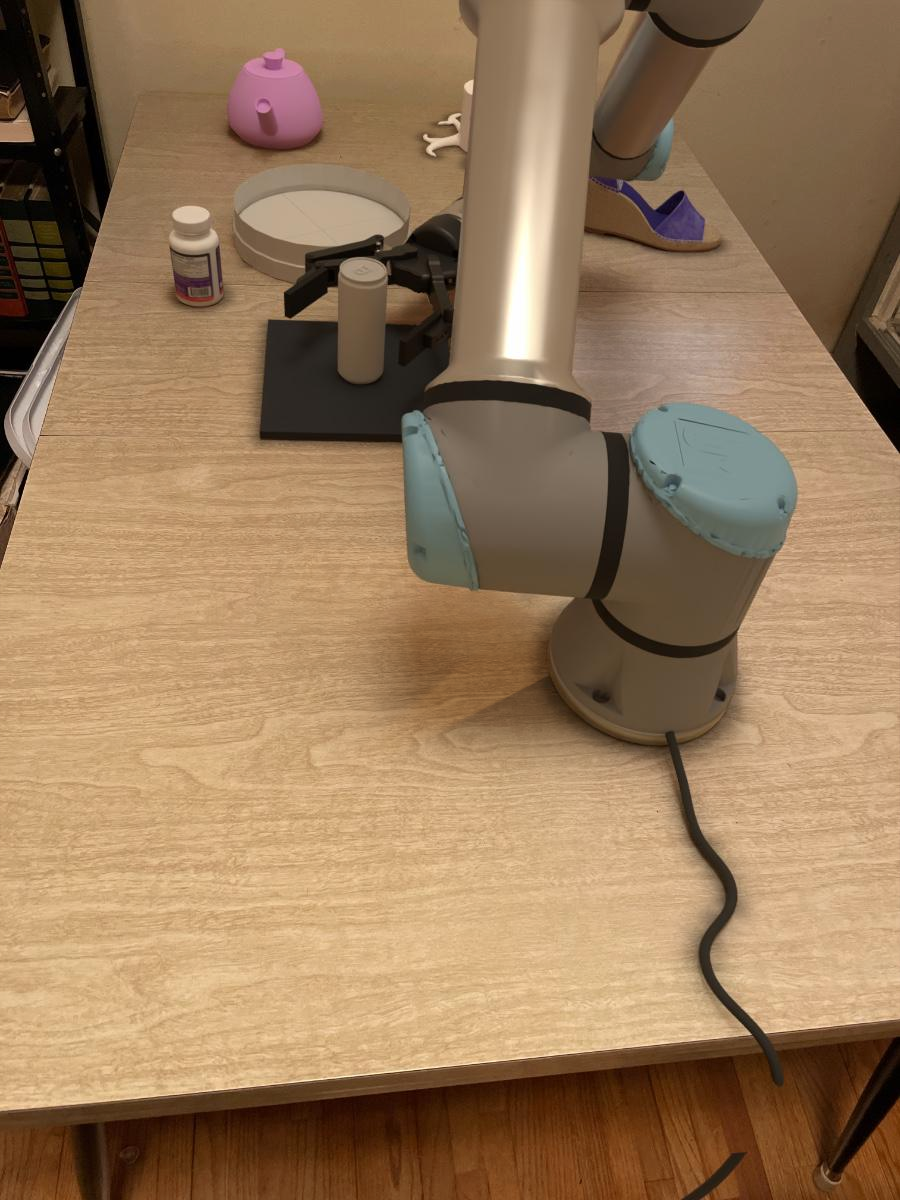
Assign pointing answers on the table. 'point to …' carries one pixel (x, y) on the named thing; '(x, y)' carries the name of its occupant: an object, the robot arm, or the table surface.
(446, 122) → the tree stump
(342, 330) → the beverage can
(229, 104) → the teapot
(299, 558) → the table surface
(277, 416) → the mat
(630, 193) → the sandal
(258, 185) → the dish
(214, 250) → the pill bottle
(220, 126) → the table surface
